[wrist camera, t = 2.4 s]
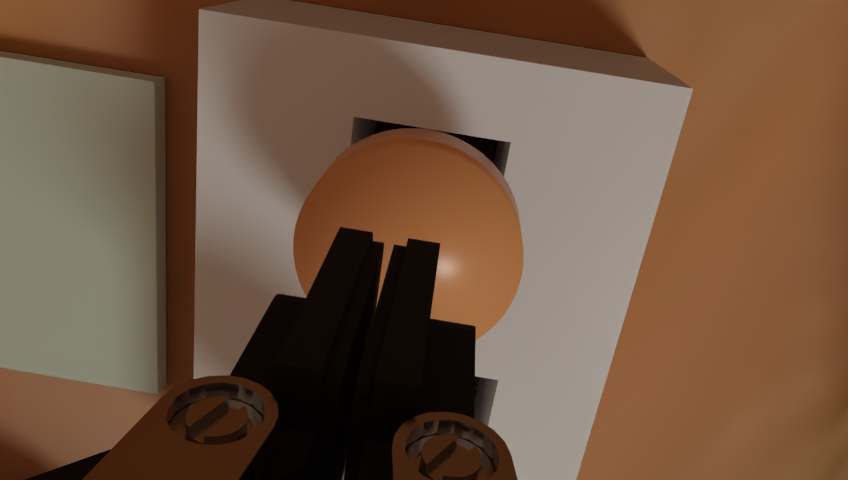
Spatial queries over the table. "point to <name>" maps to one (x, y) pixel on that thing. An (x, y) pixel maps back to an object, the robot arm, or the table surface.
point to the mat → (82, 222)
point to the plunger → (422, 218)
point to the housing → (450, 112)
